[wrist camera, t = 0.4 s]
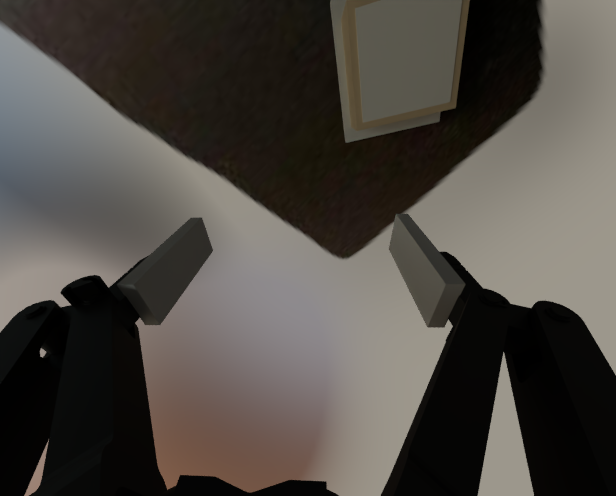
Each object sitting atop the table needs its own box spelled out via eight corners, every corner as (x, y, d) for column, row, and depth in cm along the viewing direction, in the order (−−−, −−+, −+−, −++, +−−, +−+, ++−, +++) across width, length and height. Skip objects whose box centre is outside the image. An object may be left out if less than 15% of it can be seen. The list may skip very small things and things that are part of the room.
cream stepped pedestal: (330, 3, 27) (333, -27, 21) (450, -36, 25) (493, -82, 19) (345, 141, 36) (351, 149, 29) (435, 121, 33) (462, 124, 27)
